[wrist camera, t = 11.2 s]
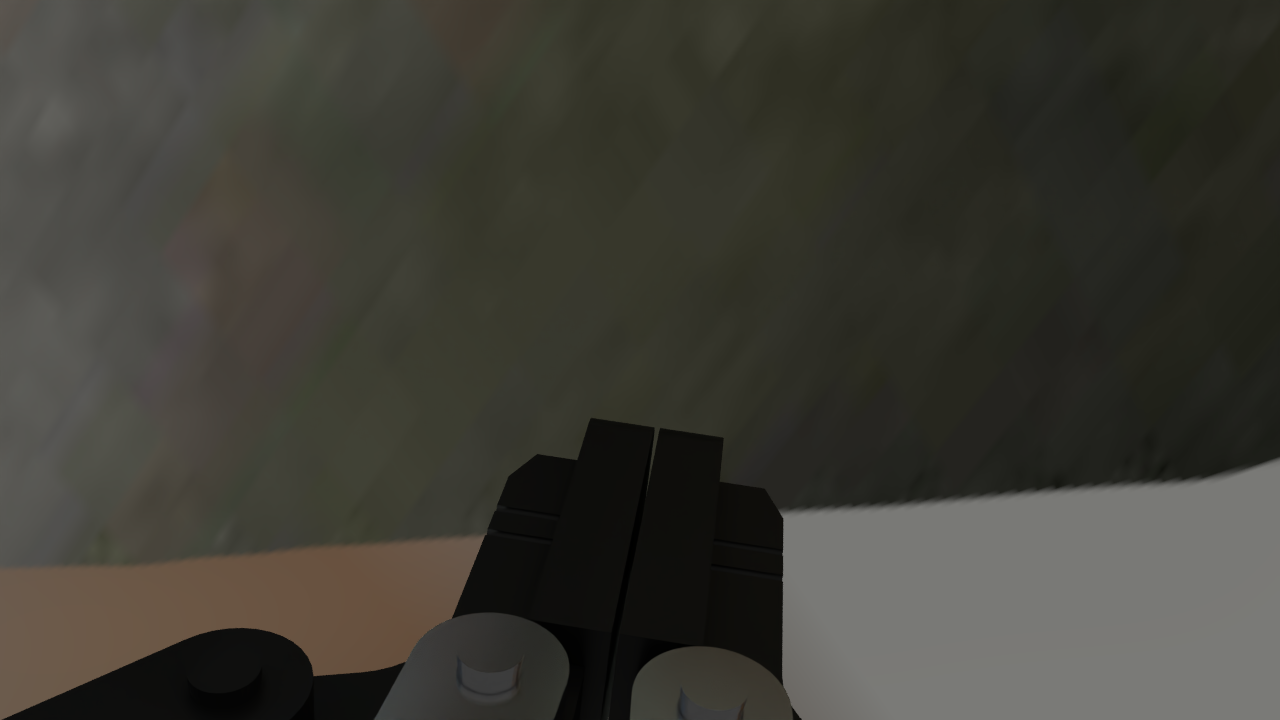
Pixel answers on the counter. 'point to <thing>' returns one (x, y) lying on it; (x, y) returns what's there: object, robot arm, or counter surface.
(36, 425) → the counter surface
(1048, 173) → the counter surface
